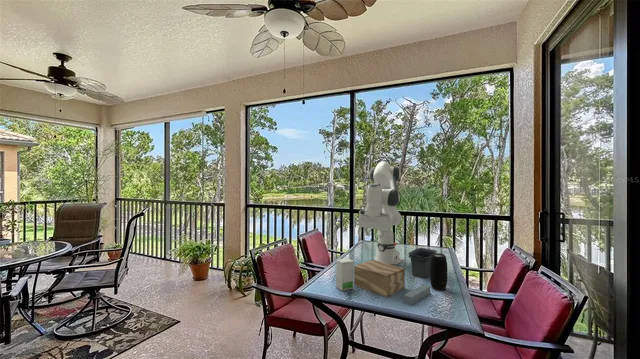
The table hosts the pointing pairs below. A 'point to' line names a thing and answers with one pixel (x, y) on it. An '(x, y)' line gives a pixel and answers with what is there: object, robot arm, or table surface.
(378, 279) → the box
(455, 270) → the table surface
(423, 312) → the table surface
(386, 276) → the lid
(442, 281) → the portable speaker
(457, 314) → the table surface
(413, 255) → the storage bin
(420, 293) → the grey rectangular bar
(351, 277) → the skincare box
